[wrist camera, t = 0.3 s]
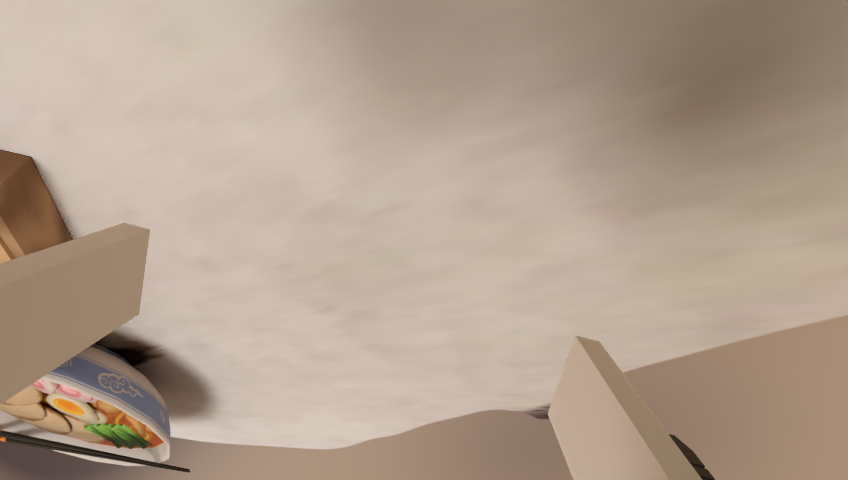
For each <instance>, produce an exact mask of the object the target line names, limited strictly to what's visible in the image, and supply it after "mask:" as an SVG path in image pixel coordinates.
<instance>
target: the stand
mask: <svg viewBox="0 0 848 480" xmlns="http://www.w3.org/2000/svg"><path fill="white" fill-rule="evenodd" d="M71 240H72V238H71V236H70V234H69V232H68V230H67V228H66V226H65V224H64V222H63V220H62V218H61V216H60V214H59V212H58V210H57V208H56V206H55V204H54V202H53V200H52V198H51V196H50V194H49V192H48V190H47V188H46V186H45V184H44V182H43V180H42V178H41V176H40V174H39V172H38V170H37V168H36V166H35V164H34V162H33V160H32V158H31V157H28V156H24V155H20V154H16V153H11V152H7V151H3V150H0V264H1V263H4V262H7V261H10V260H13V259H16V258H19V257H22V256H25V255H28V254H31V253H34V252H38V251H41V250H44V249H47V248H50V247H53V246H56V245H59V244H62V243H65V242H68V241H71Z"/></svg>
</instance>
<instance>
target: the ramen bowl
mask: <svg viewBox="0 0 848 480" xmlns="http://www.w3.org/2000/svg"><path fill="white" fill-rule="evenodd" d="M0 441H5V442H9V443H15V444H21V445H27V446H33V447H39V448H45V449H51V450H53V451H57V452H61V453H64V454H69V455H72V456H76V457H80V458H83V459H88V460H91V461H97V462H103V463H110V464H117V465H124V466H153V467H160V468H165V469H171V470H177V471H183V472H190V471H189V469H185V468H180V467H175V466H171V465H166V464H161V463H162V462H164V461H166V460H168V459H169V458H170V424H169V416H168V411H167V408H166V405H165V401H164V399H163V398H162V396H161V395H160V394H159V392H158V391H157V389H156V388H155V387H154V386H153V385H152V384H151V382H150V381H149V380H148V379H147V378H146V377H145V376H144V375H143V374H141V373H140V372H139V371H137V370H136V369H135V368H133V367H132V366H131V365H130V364H129V362H128V361H127V360H126V359H124V358H123V357H121V356H120V355H118V354H117V353H115V352H113V351H111V350H109V349H107V348H105V347H102V346H98V345H95V344H92V345H91V346H89V347H88V348H86V349H85V350H83V351H82V352H80V353H79V354H77V355H76V356H74V357H72V358H71V359H69V360H68V361H66V362H65V363H63V364H62V365H60V366H59V367H57V368H56V369H54V370H53V371H51V372H50V373H48V374H46V375H45V376H43V377H42V378H40V379H39V380H37V381H36V382H34V383H33V384H31V385H30V386H28V387H27V388H25V389H24V390H22V391H20V392H19V393H17V394H16V395H14V396H13V397H11V398H10V399H8V400H7V401H5V402H4V403H2V404H1V405H0Z"/></svg>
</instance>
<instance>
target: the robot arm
mask: <svg viewBox="0 0 848 480" xmlns="http://www.w3.org/2000/svg"><path fill="white" fill-rule="evenodd" d="M149 233H150V229H146V228H142V227H138V226H134V225H130V224H126V223H123V224H120V225H116V226H113V227H110V228H107V229H104V230H101V231H98V232H95V233H92V234H89V235H86V236H83V237H80V238H77V239H74V240H71V241H68V242H65V243H62V244H59V245H56V246H53V247H50V248H47V249H44V250H41V251H38V252H34V253H31V254H28V255H25V256H22V257H19V258H16V259H13V260H10V261H7V262H4V263H1V264H0V405H1V404H2V403H4V402H5V401H7V400H8V399H10V398H11V397H13V396H14V395H16V394H17V393H19V392H20V391H22V390H24V389H25V388H27V387H28V386H30V385H31V384H33V383H34V382H36V381H37V380H39V379H40V378H42V377H43V376H45V375H46V374H48V373H50V372H51V371H53V370H54V369H56V368H57V367H59V366H60V365H62V364H63V363H65V362H66V361H68V360H69V359H71V358H72V357H74V356H76V355H77V354H79V353H80V352H82V351H83V350H85V349H86V348H88V347H89V346H91V345H92V344H94V343H95V342H97V341H98V340H100V339H102V338H103V337H105V336H106V335H108V334H109V333H111V332H112V331H114V330H115V329H117V328H118V327H120V326H121V325H123V324H124V323H126V322H128V321H129V320H131V319H132V318H134V317H135V316H137V315H138V314H139V309H140V301H141V293H142V286H143V278H144V271H145V263H146V255H147V248H148V240H149ZM548 415H549V418H550V420H551V423H552V425H553V428H554V431H555V433H556V436H557V439H558V441H559V444H560V446H561V449H562V452H563V454H564V457H565V459H566V462H567V464H568V467H569V470H570V472H571V475H572V477H573V480H715V479H714V477H713V476H712V475H711V474H710V472H709V471H708V470H707V469H705V468H704V467H705V466H704V465H703V463H701V461H700V460H699V458H698V457H697V456H696V454H695V453H694V452H693V451H692V450H691V449H690V448H688V447H687V446H686V445H685V444H684V443H683V442H681V441H680V440H679V439H678V438H677V437H675V436H674V435H670V434H668V433H667V432H666V430H665V429H664V428H663V426H662V425H661V424H660V422H659V421H658V420H657V418H656V417H655V416H654V414H653V413H652V412H651V410H650V409H649V408H648V406H647V405H646V404H645V402H644V401H643V400H642V398H641V397H640V396H639V394H638V393H637V392H636V390H635V389H634V387H633V386H632V385H631V383H630V382H629V381H628V379H627V378H626V377H625V376H624V374H623V373H622V371H621V370H620V369H619V367H618V366H617V365H616V363H615V362H614V361H613V359H612V358H611V357H610V355H609V354H608V353H607V351H606V350H605V349H604V347H603V346H602V345H601V343H600V342H599V341H595V340H591V339H587V338H583V337H579V336H575V338H574V341H573V344H572V346H571V349H570V352H569V355H568V358H567V361H566V363H565V366H564V369H563V372H562V375H561V378H560V380H559V383H558V386H557V389H556V392H555V395H554V397H553V400H552V403H551V406H550V409H549V412H548Z"/></svg>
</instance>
